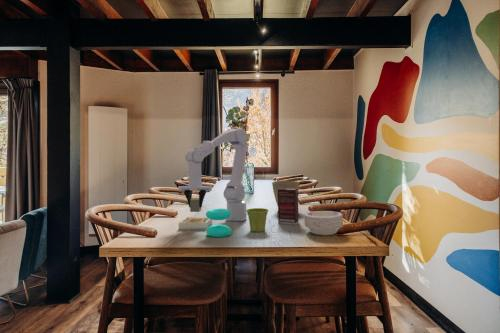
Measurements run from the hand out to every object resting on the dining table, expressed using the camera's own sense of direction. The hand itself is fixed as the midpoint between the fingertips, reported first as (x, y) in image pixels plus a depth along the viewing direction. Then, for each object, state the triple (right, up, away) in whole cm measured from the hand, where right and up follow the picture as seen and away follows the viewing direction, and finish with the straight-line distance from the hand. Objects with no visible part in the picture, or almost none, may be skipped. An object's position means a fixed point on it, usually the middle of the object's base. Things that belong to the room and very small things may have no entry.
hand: (195, 207), depth 156 cm
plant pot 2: (+44, -7, +36) cm, 57 cm away
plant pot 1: (+27, -9, -8) cm, 30 cm away
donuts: (+12, -10, -15) cm, 21 cm away
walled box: (0, -9, 0) cm, 9 cm away
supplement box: (+42, -8, +5) cm, 43 cm away
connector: (0, -2, 0) cm, 2 cm away
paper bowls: (+54, -9, -14) cm, 56 cm away
